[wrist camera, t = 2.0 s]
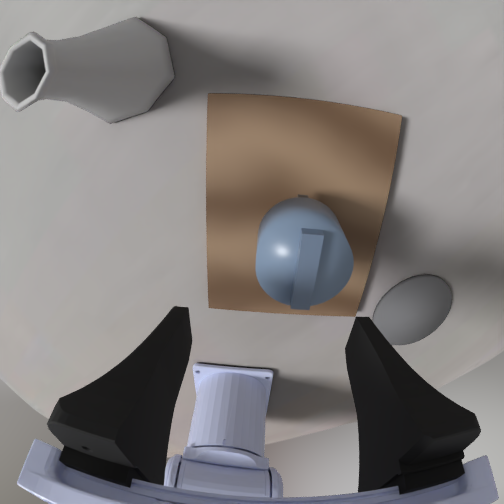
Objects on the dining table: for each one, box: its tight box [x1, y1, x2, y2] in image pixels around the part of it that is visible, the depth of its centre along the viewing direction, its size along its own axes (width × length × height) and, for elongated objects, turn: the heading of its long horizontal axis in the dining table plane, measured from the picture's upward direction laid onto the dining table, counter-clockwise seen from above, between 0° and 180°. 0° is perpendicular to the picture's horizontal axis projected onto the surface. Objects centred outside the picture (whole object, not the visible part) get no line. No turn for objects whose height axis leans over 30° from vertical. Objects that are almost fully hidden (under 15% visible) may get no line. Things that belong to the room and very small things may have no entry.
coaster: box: [373, 275, 452, 345], centre depth 25 cm, size 8×8×1 cm
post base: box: [206, 93, 402, 317], centre depth 20 cm, size 16×12×3 cm
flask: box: [0, 17, 175, 124], centre depth 12 cm, size 7×7×10 cm
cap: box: [256, 197, 354, 310], centre depth 17 cm, size 5×5×4 cm
